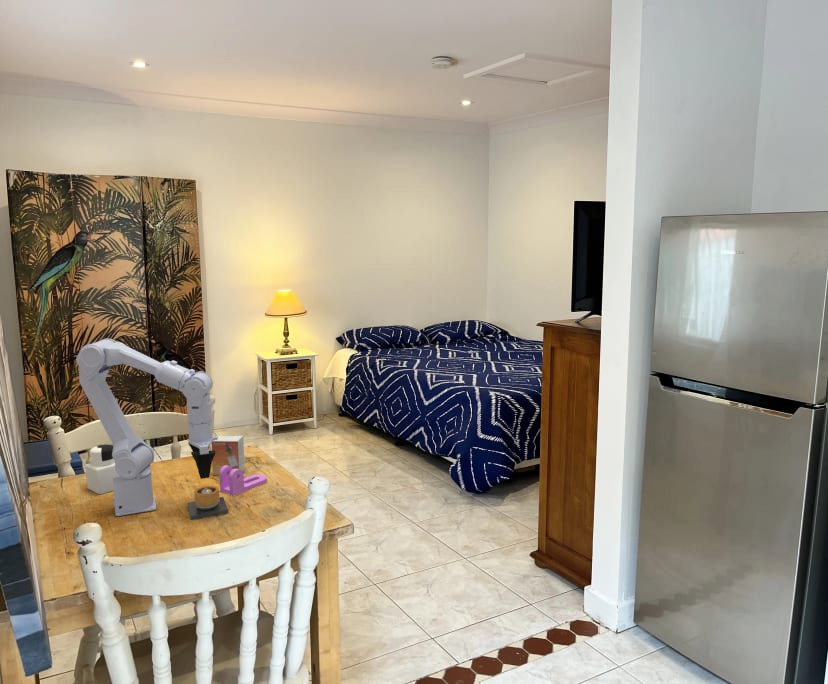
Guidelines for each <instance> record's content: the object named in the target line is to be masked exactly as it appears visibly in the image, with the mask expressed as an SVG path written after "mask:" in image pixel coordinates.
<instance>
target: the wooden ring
mask: <svg viewBox="0 0 828 684" xmlns="http://www.w3.org/2000/svg"><path fill="white" fill-rule="evenodd" d="M204 489H210V490H212V493H208V494H200V493H201V491H202V490H204ZM219 497H220V488H219V487H217V486H215V485H206V486H201V487H198V488H197V489H195V490H194V501H195V504H196V505H198V506H212V505H214V504H217V503H218V502H219V501H220V500H219Z"/></svg>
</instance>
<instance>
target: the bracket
mask: <svg viewBox="0 0 828 684" xmlns="http://www.w3.org/2000/svg"><path fill="white" fill-rule="evenodd" d="M226 472H227V473H226ZM236 475H237V476H236ZM244 475H245V474H244V470H243V471H242V470H239V469H233V468H232V467H230V466H227V465H225V466H223V467H222V468H221V469H220V472H219V475H218V476H219V492H220V491H222V492H221V493H223V492H225V493H224V494H226V493H228V494H230V495H229V496H231V495H232V497H235V496H238V495H240V494H242V492H243V493H245V492H244V491H246V492H248V491H251V490H253V489H255V487H256V488H258V487H261V486H263V485H265V484H267V483H268V482H267V480H268V479H267V475H264V474H252V475H248V476H247V477H245V476H244ZM260 485H261V486H260ZM257 486H258V487H257ZM252 488H253V489H252ZM250 489H251V490H250ZM247 490H248V491H247ZM239 493H240V494H239ZM228 494H227V495H228ZM237 494H238V495H237ZM234 495H235V496H234Z"/></svg>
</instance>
